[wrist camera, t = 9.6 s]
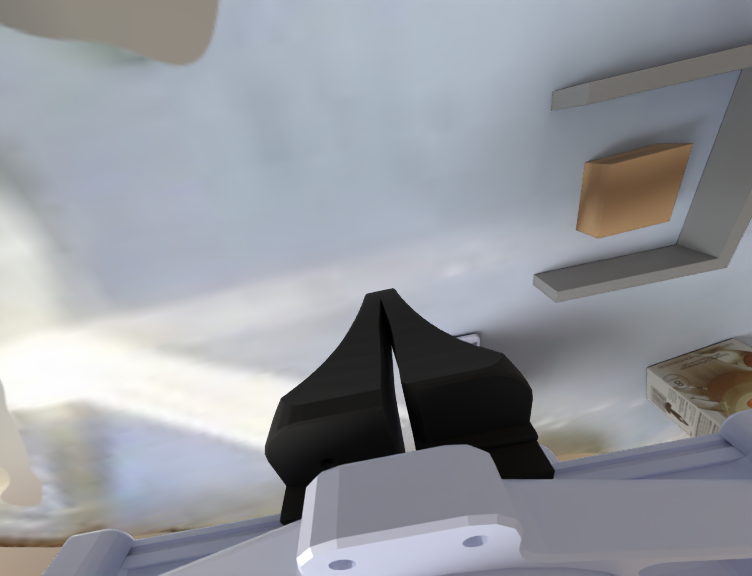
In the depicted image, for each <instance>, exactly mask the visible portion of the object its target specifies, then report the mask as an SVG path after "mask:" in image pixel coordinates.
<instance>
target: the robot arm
mask: <svg viewBox="0 0 752 576" xmlns="http://www.w3.org/2000/svg"><path fill="white" fill-rule="evenodd" d="M474 342H475V343H474ZM473 343H474V344H473ZM391 345H392V346H391ZM392 349H393V352H394V355H395V358H396V362H397V365H398V368H399V373H400V379H401V384H402V388H403V393H404V397H405V402H406V406H407V411H408V415H409V419H410V424H411V428H412V433H413V437H414V442H415V447H416V451H412V452H407V453H406V452H405V447H404V441H403V436H402V430H401V424H400V419H399V413H398V407H397V401H396V395H395V386H394V373H393V359H392ZM532 401H533V395H532V389H531V387H530V385H529V384H528V382H527V381H526V379H525V378H524V376H523V375H522V374H521V372H520V371H519V370H518V369H517V368H516V367H515V366H514V365H513V364H512V362H511V361H510V360H509V359H508V358H507V357H506V356H505V355H504V354H503V353H499V352H496V351H493V350H489V349H486V348H482V347H480V338H479V336H478V335H477V334H471V335H466V336H461V337H454V336H452V335H450V334H448V333H446V332H444V331H442V330H440V329H438V328H437V327H435V326H434V325H432V324H431V323H429V322H428V321H427V320H425V319H424V318H423V317H421V316H420V315H419V314H418V313H416V312H415V311H414V310H413V309H412V308H411V307H410V306H409V305H408V304H407V303H406V302H405V301H404V300H403V299H402V298H401V297H400V295H399V294H398V293H397V291H396V290H395V289H394V288H392V289H387V290H382V291H377V292H373V293H368V294H366V295H365V297H364V300H363V303H362V306H361V308H360V310H359V312H358V314H357V316H356V319H355V321H354V322H353V324H352V326H351V328H350V329H349V331H348V333H347V334H346V336H345V337H344V339H343V340H342V342H341V343H340V344H339V346H338V347H337V348H336V350H335V351H334V352H333V353H332V354H331V355H330V356H329V357H328V359H327V360H326V361H325V362H324V363H323V364H322V365H321V366H320V367H319V368H318V369H317V370H316V371H315V372H313V373H312V374H311V375H310V376H309V377H308V378H307V379H305V380H304V381H303V382H302V383H300V384H299V385H298V386H297V387H295V388H294V389H293V390H291V391H290V392H289V393H287V394H286V395H285V396H283V397H282V398H281V400H280V402H279V405H278V407H277V409H276V412H275V415H274V418H273V421H272V424H271V428H270V431H269V434H268V438H267V441H266V445H265V456H266V458H267V460H268V462H269V463H270V465H271V466H272V467H273V469H274V470H275V471H276V473H277V474H278V475H279V477H280V478H281V479H282V481H283V482H284V483H285V485H286V490H285V496H284V501H283V506H282V511H281V513H280V514H274V515H269V516H263V517H258V518H253V519H247V520H242V521H236V522H231V523H225V524H220V525H214V526H209V527H204V528H198V529H193V530H187V531H182V532H176V533H172V534H166V535H160V536H155V537H149V538H144V539H138V540H134V539H133V537H132V536H130V535H129V534H128V533H126V532H124V531H121V530H117V529H104V530H99V531H94V532H88V533H83V534H78V535H73V536H71V537H69V538H68V540H67V541H66V542H65V544H64V545H63V546H62V548H61V549H60V551H59V552H58V553H57V555H56V556H55V558H54V559H53V560H52V562H51V563H50V564H49V566H48V567H47V569H46V570H45V571H44V573H43V574H42V576H752V409H748V410H743V411H740V412H737V413H734V414H733V415H731V416H729V417H728V418H727V419H726V420H724V422H723V423H722V424H721V426H720V428H719V433H715V434H709V435H704V436H698V437H693V438H687V439H682V440H677V441H671V442H666V443H660V444H655V445H649V446H644V447H638V448H633V449H628V450H622V451H617V452H611V453H606V454H600V455H595V456H590V457H584V458H579V459H573V460H568V461H563V462H559V460H558V459H557V458H556V456H555V455H554V454H553V453H552V451H551V450H550V449H549V448H547V447H545V446H543V445H541V444H539V443H538V442H537V440H538V435H537V432H536V431H535V429H534V428H533V426H532V424H531V423H530V416H531V408H532Z"/></svg>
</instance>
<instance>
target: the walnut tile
mask: <svg viewBox="0 0 752 576" xmlns="http://www.w3.org/2000/svg"><path fill="white" fill-rule="evenodd" d="M692 145H693V143H659V144H654V145H650V146H646V147H643V148H639V149H635V150H631V151H627V152H624V153H620V154H616V155H612V156H608V157H605V158H601V159H597V160H593V161H589V162H586V163H585V167H584V174H583V182H582V189H581V196H580V204H579V211H578V219H577V226H576V230H578V231H580V232H583V233H585V234H588V235H590V236H593V237H595V238H602V237H606V236H611V235H615V234H619V233H623V232H627V231H631V230H635V229H639V228H643V227H647V226H651V225H656V224H660V223H664V222H668V221H670V218H671V214H672V211H673V208H674V205H675V201H676V198H677V195H678V191H679V188H680V185H681V182H682V178H683V175H684V172H685V168H686V165H687V162H688V159H689V155H690V152H691V149H692Z"/></svg>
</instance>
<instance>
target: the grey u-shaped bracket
mask: <svg viewBox="0 0 752 576" xmlns="http://www.w3.org/2000/svg"><path fill="white" fill-rule="evenodd" d="M739 69H742V71H741V74H740V77H739V79H738V82H737V85H736V87H735V90H734V93H733V95H732V98H731V101H730V103H729V106H728V108H727V111H726V114H725V116H724V119H723V122H722V124H721V127H720V130H719V132H718V135H717V138H716V140H715V143H714V146H713V148H712V151H711V154H710V156H709V159H708V162H707V164H706V167H705V170H704V172H703V175H702V178H701V180H700V183H699V186H698V188H697V191H696V194H695V196H694V199H693V202H692V204H691V207H690V209H689V212H688V215H687V217H686V220H685V223H684V225H683V228H682V231H681V233H680V236H679V239H678V241H677V244H676V245H673V246H668V247H663V248H659V249H654V250H649V251H644V252H640V253H635V254H630V255H625V256H621V257H616V258H611V259H606V260H602V261H597V262H592V263H587V264H583V265H578V266H573V267H568V268H564V269H559V270H554V271H549V272H545V273H540V274H535V275H534V281H533V285H534V286H535V287H537V288H538V289H539V290H540V291H542V292H543V293H544V294H545V295H547V296H548V297H549V298H550V299H552V300H553V301H554V302H555V303H557V302H562V301H567V300H572V299H576V298H581V297H586V296H591V295H596V294H601V293H606V292H610V291H615V290H620V289H625V288H630V287H635V286H640V285H644V284H649V283H654V282H659V281H664V280H669V279H674V278H678V277H683V276H688V275H693V274H698V273H703V272H708V271H712V270H717V269H722V268H727V266H728V264H729V262H730V260H731V258H732V256H733V254H734V252H735V250H736V248H737V246H738V244H739V242H740V240H741V238H742V236H743V234H744V232H745V230H746V228H747V226H748V224H749V222H750V220H751V218H752V44H750V45H746V46H742V47H737V48H733V49H729V50H725V51H720V52H716V53H712V54H708V55H703V56H699V57H695V58H691V59H686V60H682V61H678V62H674V63H669V64H665V65H661V66H657V67H652V68H648V69H644V70H640V71H635V72H631V73H627V74H623V75H618V76H614V77H610V78H606V79H601V80H597V81H593V82H589V83H585V84H581V85H577V86H573V87H569V88H565V89H561V90H558V91H554V92H553V96H552V105H551V111H552V110H558V109H564V108H570V107H576V106H582V105H588V104H592V103H597V102H601V101H605V100H610V99H614V98H618V97H622V96H627V95H631V94H635V93H640V92H644V91H648V90H653V89H657V88H661V87H666V86H670V85H674V84H678V83H683V82H687V81H691V80H696V79H700V78H704V77H709V76H713V75H717V74H722V73H726V72H730V71H734V70H739Z"/></svg>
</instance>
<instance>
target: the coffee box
mask: <svg viewBox="0 0 752 576" xmlns="http://www.w3.org/2000/svg"><path fill="white" fill-rule="evenodd" d="M647 399H648V400H649V401H651V402H652V403H653V404H654V405H655V406H656V407H657V408H659V409H660V410H661V411H662V412H663V413H664V414H665V415H666V416H668V417H669V418H670V419H671V420H672V421H673V422H674V423H675V424H676V425H678V426H679V427H680V428H681V429H682V430H683V431H684V432H685V433H687V434H688V435H689V436H690V437H691V438H693V437H698V436H704V435H709V434H715V433H719V428H720V426H721V424H722V423H723V422H724V420H726V419H727V418H728V417H729V416H731V415H733V414H734V413H737V412H740V411H743V410H748V409H752V347H750V346H748V345H746V344H744V343H742V342H741V341H739V340H737V339H730V340H727V341H724V342H721V343H718V344H715V345H712V346H709V347H706V348H703V349H700V350H698V351H695V352H692V353H689V354H686V355H683V356H680V357H677V358H674V359H671V360H668V361H665V362H662V363H659V364H656V365H654V366H651V367H648V368H647Z"/></svg>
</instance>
